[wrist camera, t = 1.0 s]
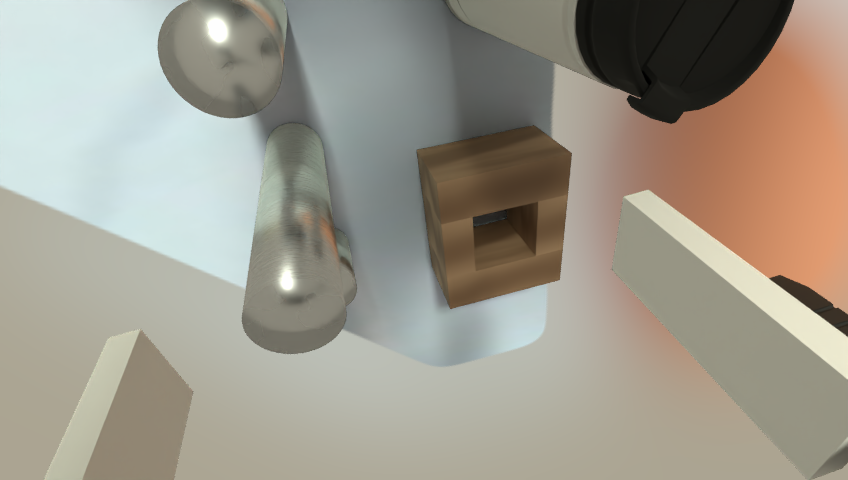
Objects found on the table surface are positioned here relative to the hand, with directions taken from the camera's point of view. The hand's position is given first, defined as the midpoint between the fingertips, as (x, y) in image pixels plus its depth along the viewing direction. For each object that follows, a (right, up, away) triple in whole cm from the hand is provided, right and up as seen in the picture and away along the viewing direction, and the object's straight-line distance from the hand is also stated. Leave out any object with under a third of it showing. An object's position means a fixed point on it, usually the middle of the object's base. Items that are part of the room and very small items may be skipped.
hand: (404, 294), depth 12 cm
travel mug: (+4, +19, +17) cm, 26 cm away
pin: (-10, +15, +14) cm, 23 cm away
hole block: (+5, +5, +26) cm, 27 cm away
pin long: (-9, +8, +20) cm, 23 cm away
